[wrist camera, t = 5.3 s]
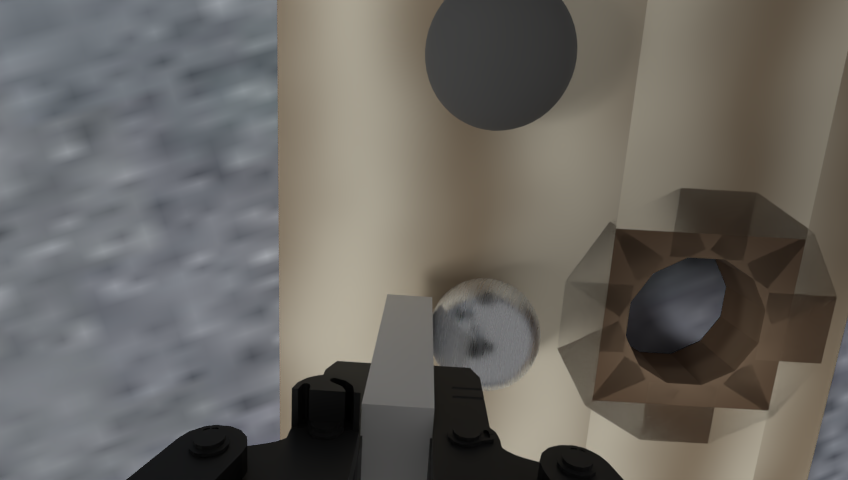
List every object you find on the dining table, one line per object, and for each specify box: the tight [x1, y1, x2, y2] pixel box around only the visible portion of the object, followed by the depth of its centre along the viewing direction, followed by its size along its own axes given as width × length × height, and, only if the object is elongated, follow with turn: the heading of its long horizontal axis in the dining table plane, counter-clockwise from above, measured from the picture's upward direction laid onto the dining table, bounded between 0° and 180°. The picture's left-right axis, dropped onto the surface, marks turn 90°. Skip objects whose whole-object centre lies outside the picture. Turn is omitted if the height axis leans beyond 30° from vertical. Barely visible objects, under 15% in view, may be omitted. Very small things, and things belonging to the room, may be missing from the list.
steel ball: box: [433, 278, 541, 391], centre depth 17 cm, size 3×3×3 cm
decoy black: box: [425, 0, 577, 131], centre depth 15 cm, size 4×4×4 cm
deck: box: [277, 0, 848, 480], centre depth 20 cm, size 19×22×2 cm
